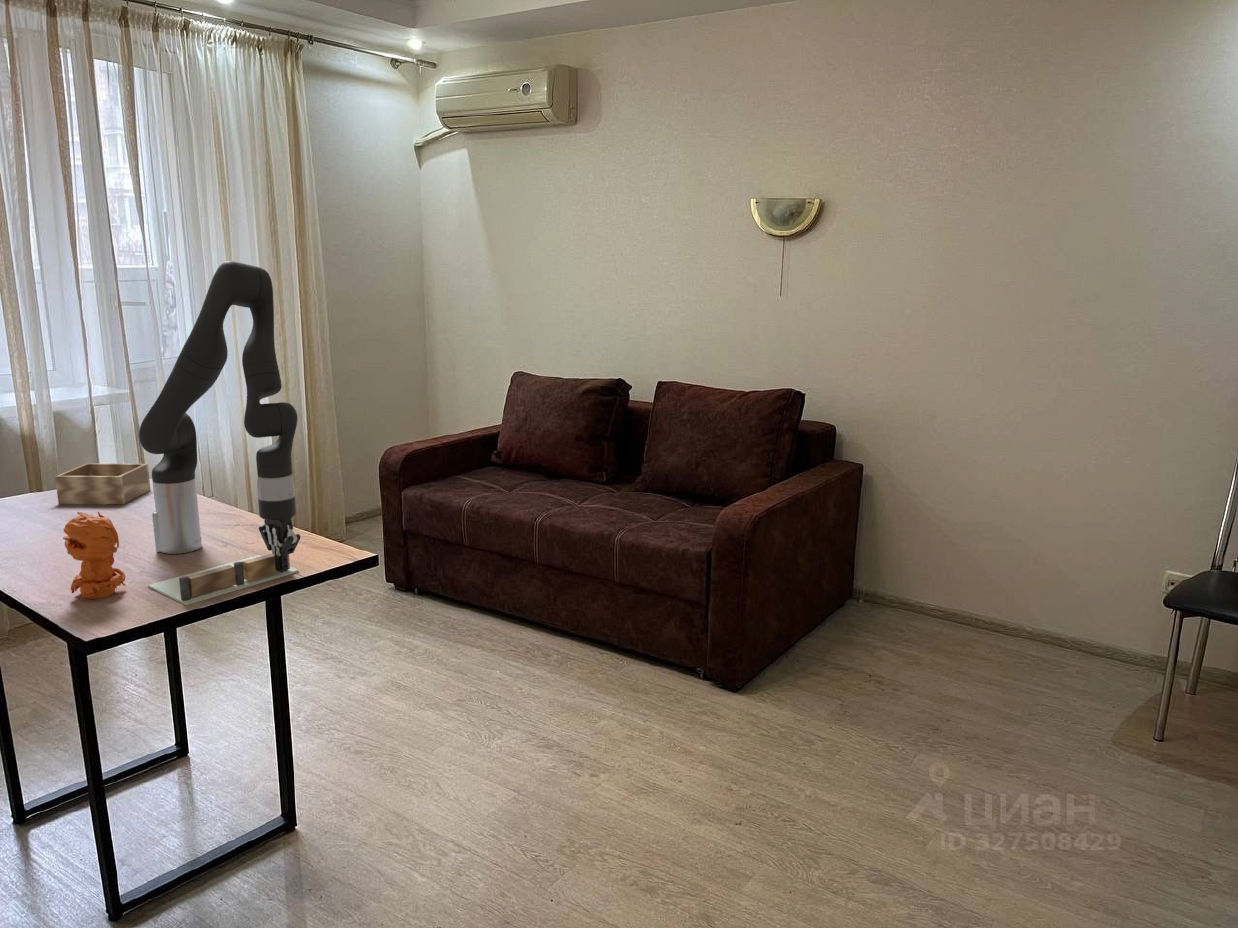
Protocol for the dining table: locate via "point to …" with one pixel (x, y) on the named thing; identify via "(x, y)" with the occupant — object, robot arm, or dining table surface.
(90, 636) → the dining table surface
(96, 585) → the toy dinosaur
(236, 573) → the fence fixed
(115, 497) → the toy crate
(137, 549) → the dining table surface
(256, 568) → the rail
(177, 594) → the card
